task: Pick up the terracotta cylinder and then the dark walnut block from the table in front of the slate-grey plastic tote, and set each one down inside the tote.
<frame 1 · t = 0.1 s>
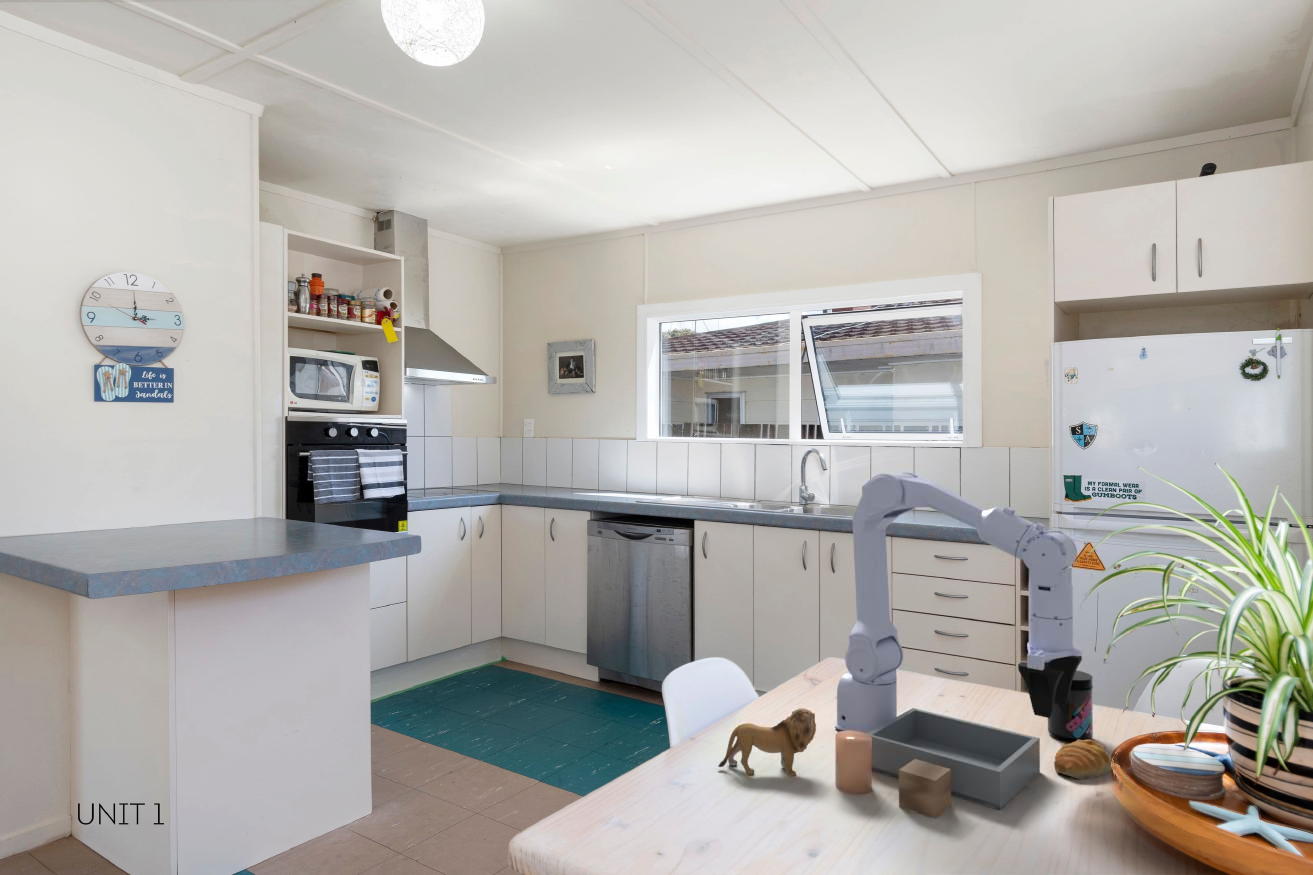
hand: (1050, 709, 112), 10 cm above the table, fingers open, 7 cm apart
lion figurine: (770, 770, 115), on the table
supplement container: (1069, 737, 129), on the table
tote: (951, 770, 115), on the table
terracotta cylinder: (853, 786, 109), on the table
walnut block: (925, 806, 103), on the table
pastry: (1082, 771, 116), on the table
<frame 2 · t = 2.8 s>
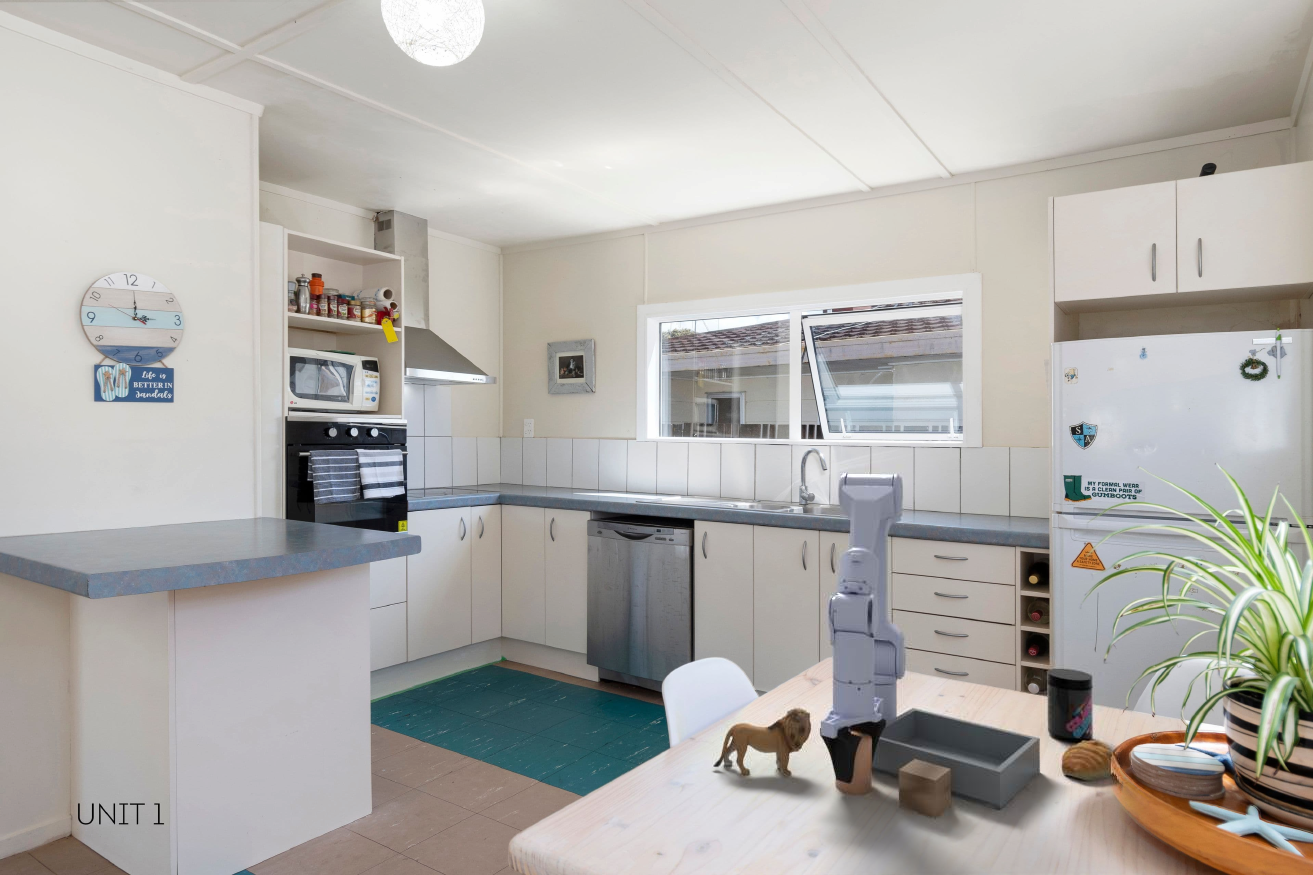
hand: (853, 774, 109), 2 cm above the table, fingers closed on terracotta cylinder, 5 cm apart
terracotta cylinder: (853, 786, 109), on the table, touching gripper
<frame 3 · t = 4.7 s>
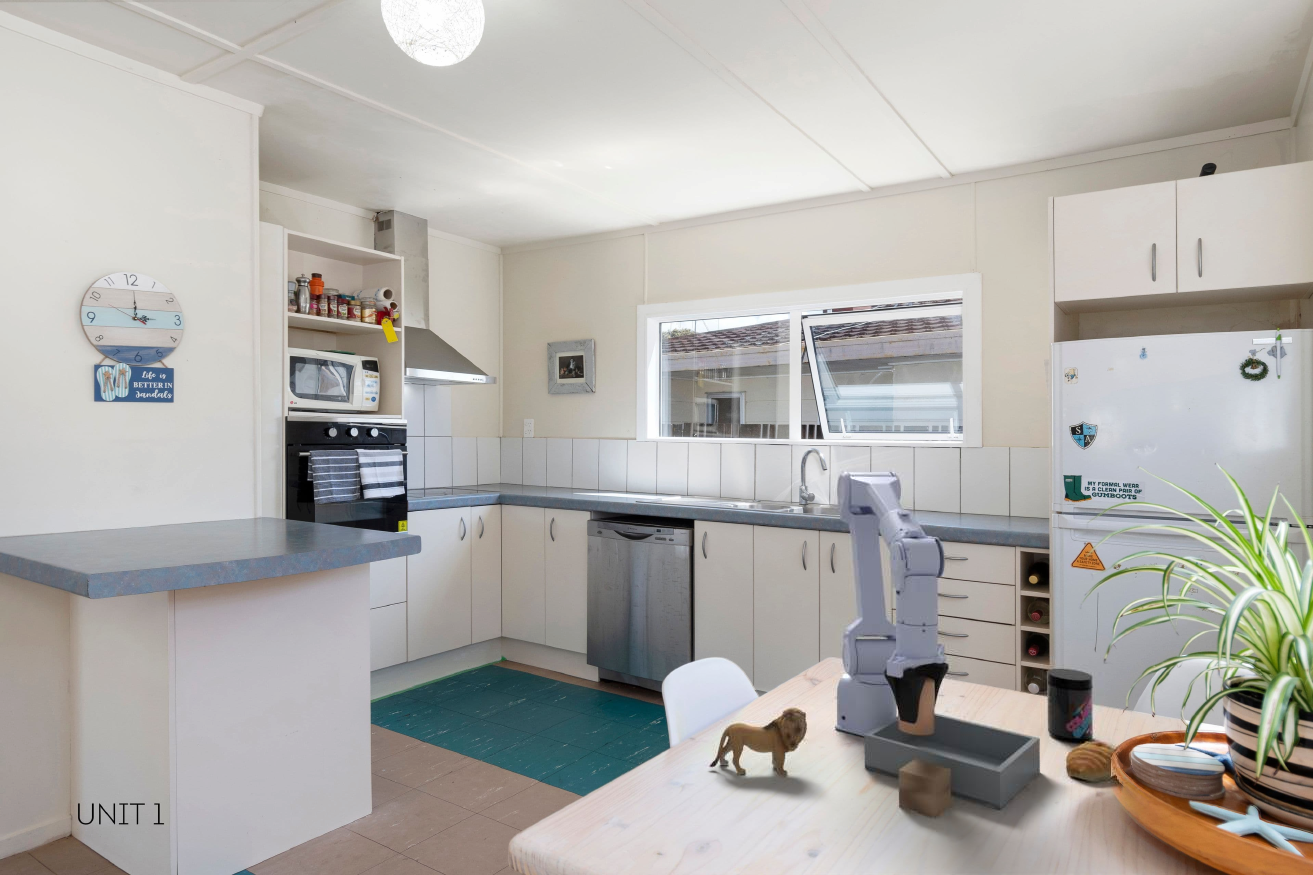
hand: (917, 716, 111), 9 cm above the table, fingers closed on terracotta cylinder, 5 cm apart
terracotta cylinder: (916, 728, 111), point 8 cm above the table, touching gripper
when the fingers open (4 cm above the table, at t = 6.9 s): terracotta cylinder drops 1 cm, resting on tote.
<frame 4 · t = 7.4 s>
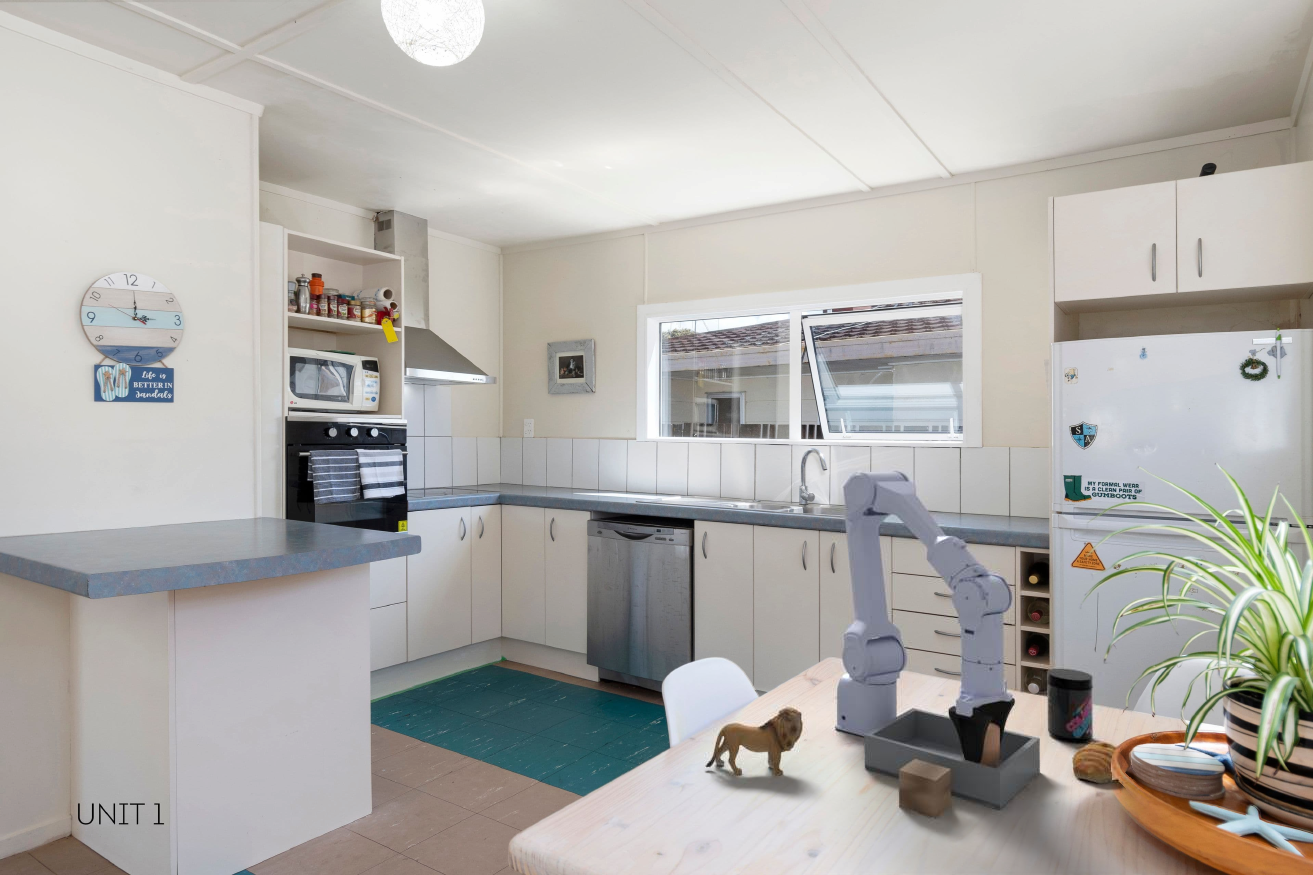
hand: (982, 753, 112), 4 cm above the table, fingers open, 7 cm apart
terracotta cylinder: (981, 774, 112), point 1 cm above the table, touching tote
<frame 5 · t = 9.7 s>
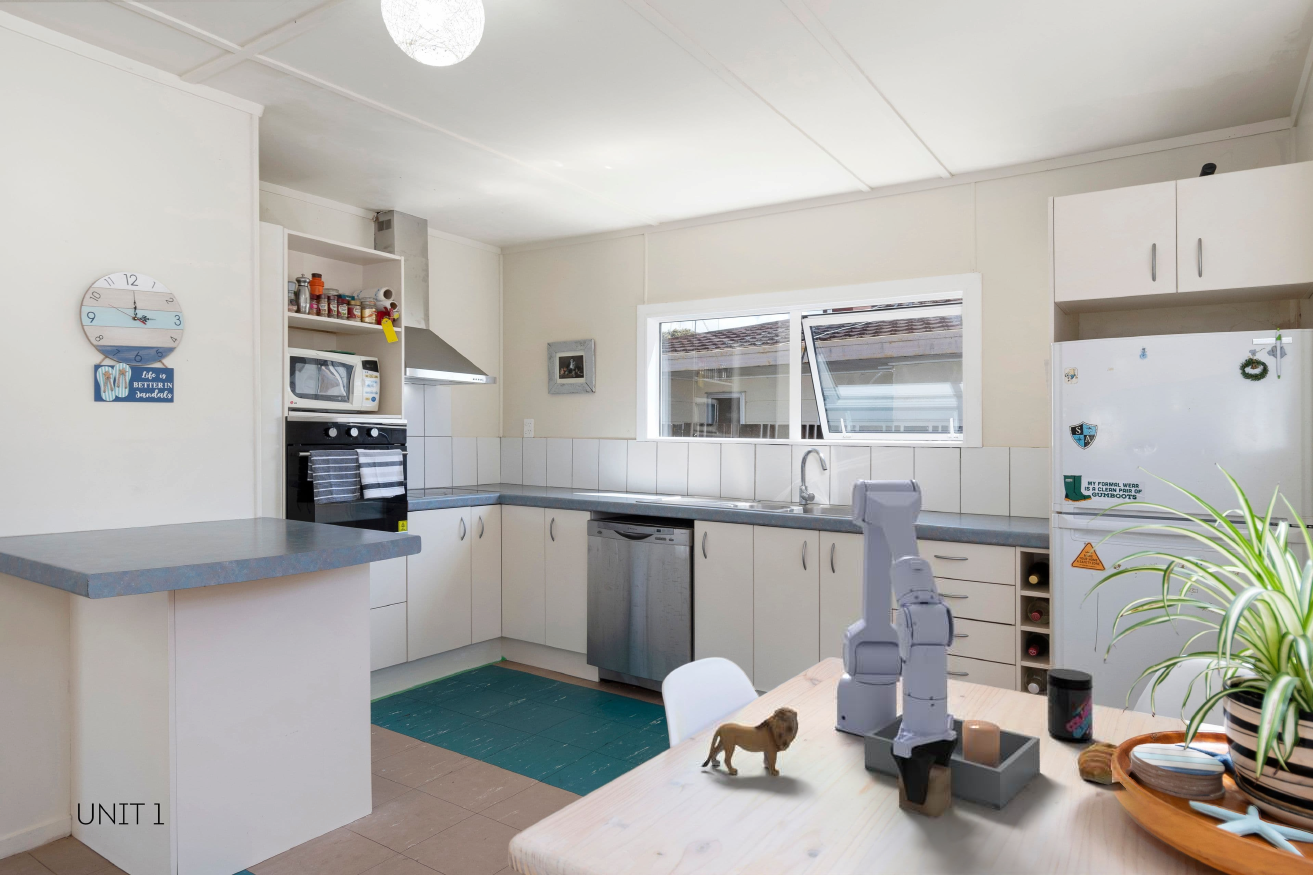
hand: (925, 795, 103), 1 cm above the table, fingers closed on walnut block, 5 cm apart
walnut block: (925, 806, 103), on the table, touching gripper
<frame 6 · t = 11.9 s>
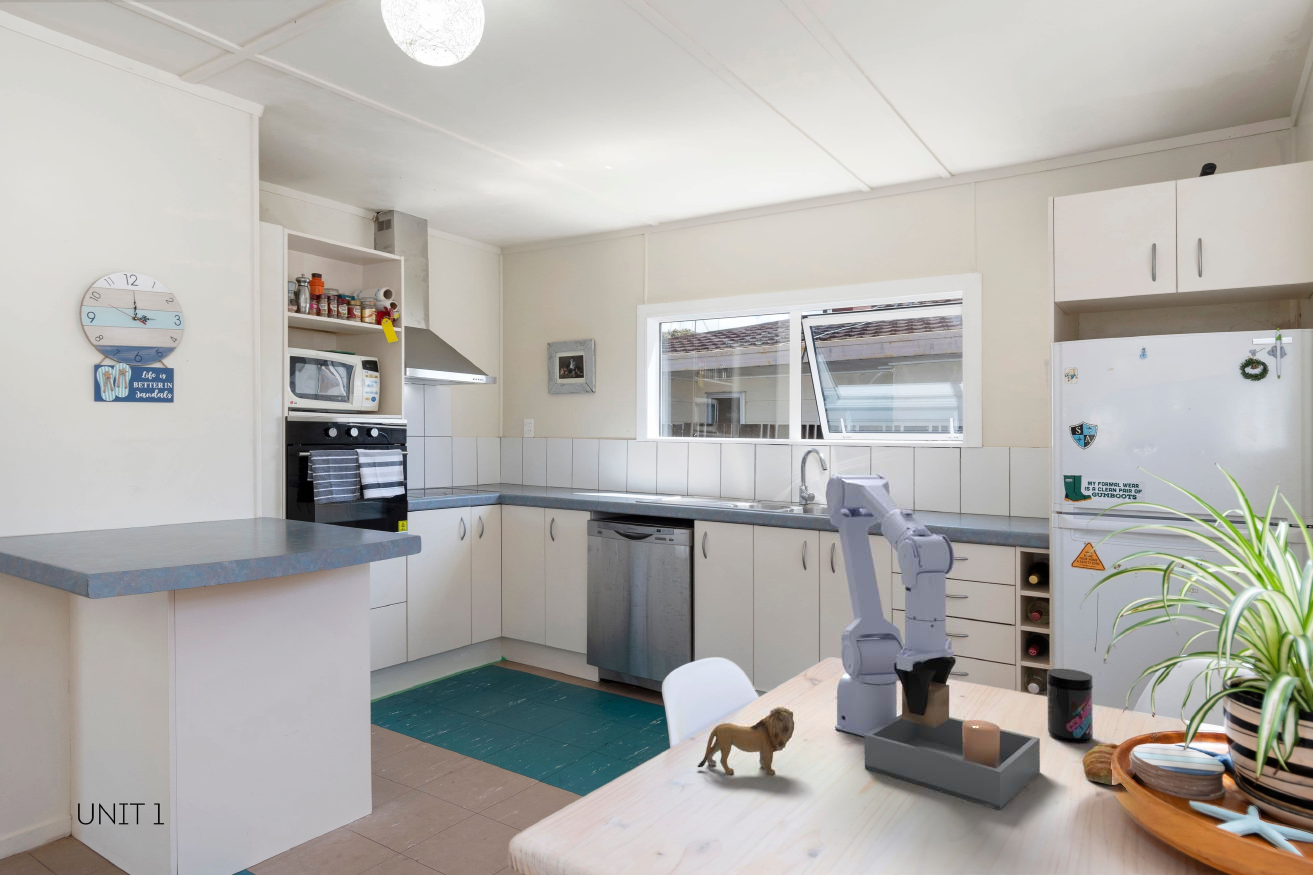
hand: (925, 708, 114), 9 cm above the table, fingers closed on walnut block, 5 cm apart
walnut block: (925, 718, 114), point 8 cm above the table, touching gripper
when the fingers open (4 cm above the table, at t = 13.8 s): walnut block drops 1 cm, resting on tote.
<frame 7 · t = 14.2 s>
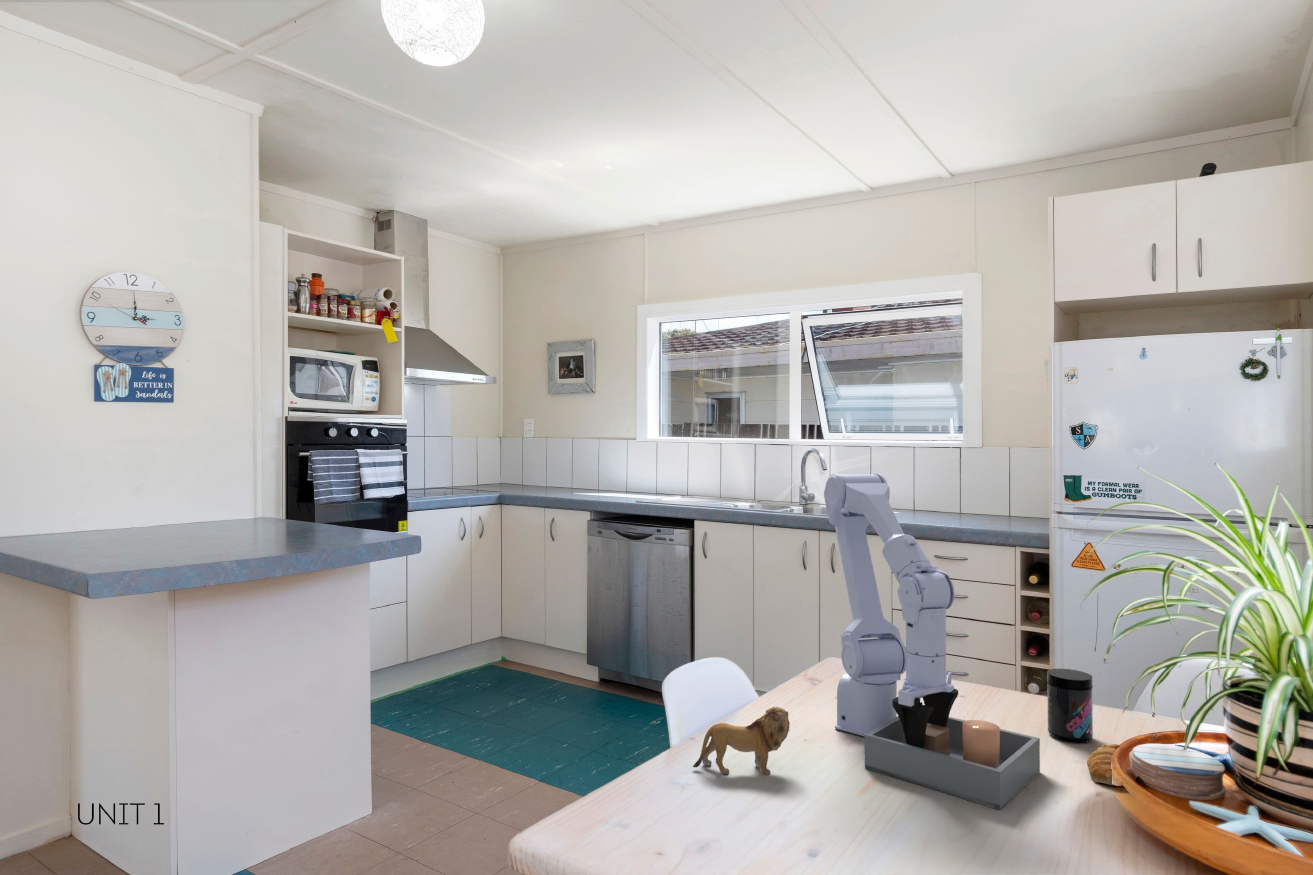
hand: (926, 742, 117), 4 cm above the table, fingers open, 7 cm apart
walnut block: (926, 761, 116), point 1 cm above the table, touching tote
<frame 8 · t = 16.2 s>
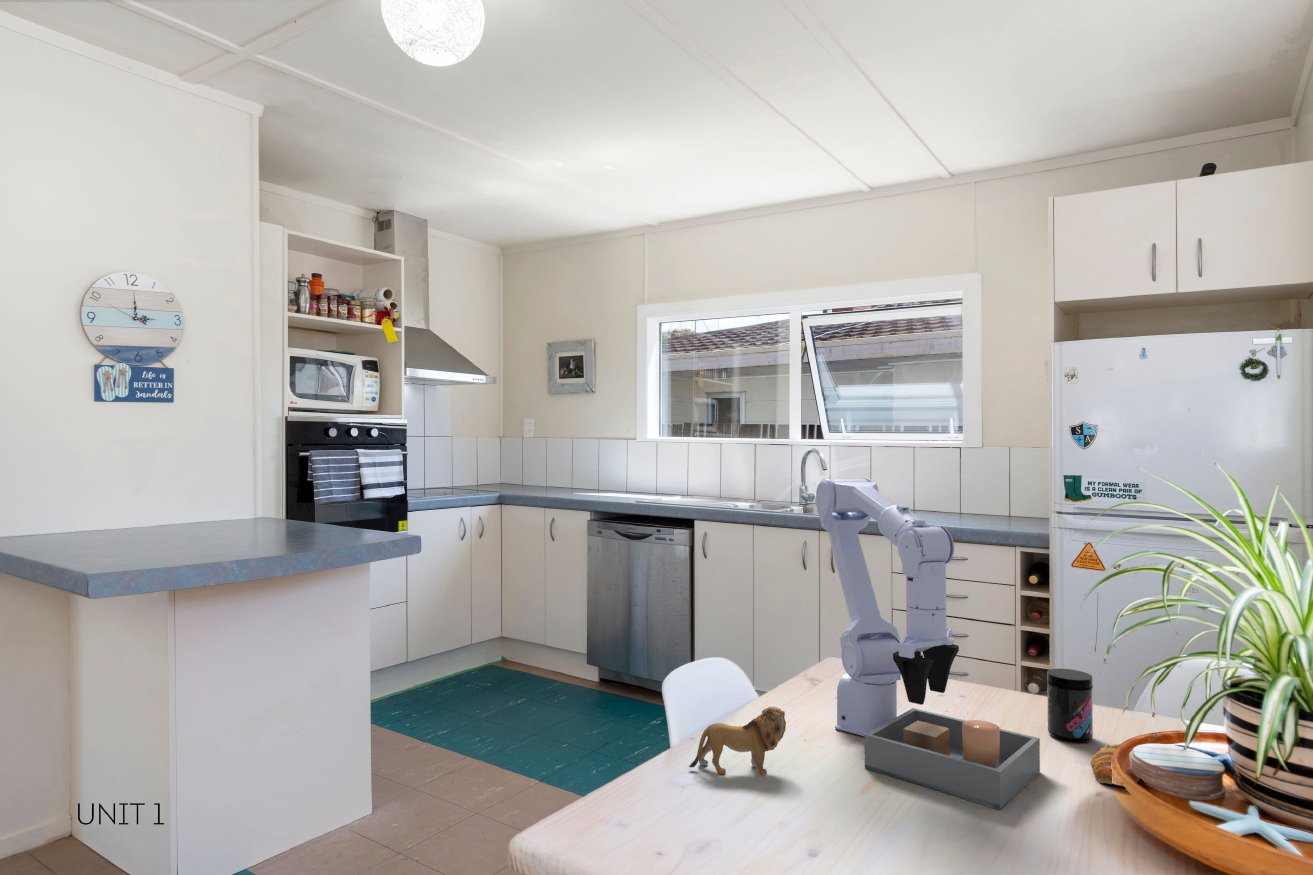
hand: (926, 696, 116), 10 cm above the table, fingers open, 7 cm apart
at the end: terracotta cylinder inside the target area on the tote (4.3 cm from its centre), point 0.6 cm above the tote's base; walnut block inside the target area on the tote (3.5 cm from its centre), point 0.6 cm above the tote's base; the gripper is holding nothing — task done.
